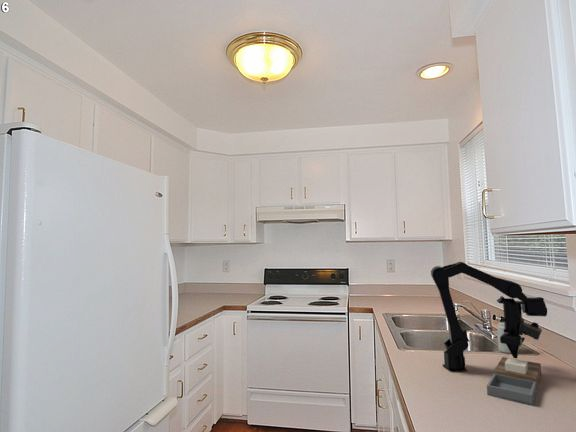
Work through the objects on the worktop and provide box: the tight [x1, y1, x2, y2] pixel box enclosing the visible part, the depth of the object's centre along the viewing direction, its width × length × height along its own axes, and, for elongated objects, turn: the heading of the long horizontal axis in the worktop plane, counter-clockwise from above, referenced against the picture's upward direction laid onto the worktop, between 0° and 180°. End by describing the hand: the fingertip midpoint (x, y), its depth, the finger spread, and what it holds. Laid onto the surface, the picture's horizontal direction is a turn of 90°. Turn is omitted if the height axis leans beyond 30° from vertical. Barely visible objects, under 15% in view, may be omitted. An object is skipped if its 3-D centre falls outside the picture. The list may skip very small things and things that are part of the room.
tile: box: [505, 357, 529, 374], centre depth 124 cm, size 6×6×2 cm
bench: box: [493, 356, 542, 392], centre depth 126 cm, size 16×12×4 cm
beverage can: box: [496, 321, 512, 355], centre depth 153 cm, size 6×6×12 cm
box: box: [486, 373, 537, 406], centre depth 115 cm, size 12×12×3 cm
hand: (515, 358), depth 130 cm, fingers closed
